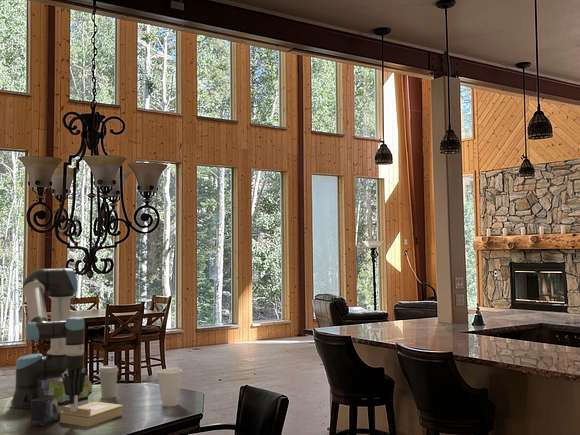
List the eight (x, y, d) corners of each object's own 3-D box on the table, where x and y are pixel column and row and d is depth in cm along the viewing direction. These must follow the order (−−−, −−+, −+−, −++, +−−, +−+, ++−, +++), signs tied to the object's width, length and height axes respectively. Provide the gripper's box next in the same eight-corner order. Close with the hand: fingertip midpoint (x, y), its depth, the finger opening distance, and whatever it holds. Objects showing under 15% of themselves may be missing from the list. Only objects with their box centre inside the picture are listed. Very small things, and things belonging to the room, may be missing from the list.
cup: (168, 400, 299) (168, 367, 300) (187, 403, 293) (187, 369, 294) (151, 406, 289) (151, 371, 290) (171, 409, 283) (171, 374, 284)
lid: (60, 413, 263) (60, 406, 263) (95, 402, 281) (95, 396, 282) (89, 417, 256) (89, 410, 256) (123, 406, 274) (123, 399, 274)
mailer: (60, 422, 263) (60, 414, 263) (94, 411, 281) (94, 403, 281) (88, 426, 256) (88, 418, 256) (121, 415, 273) (121, 407, 274)
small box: (44, 426, 257) (44, 400, 257) (30, 425, 258) (30, 400, 259) (58, 419, 267) (58, 395, 268) (44, 419, 269) (45, 394, 269)
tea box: (61, 414, 276) (62, 380, 277) (47, 411, 281) (48, 378, 282) (89, 407, 289) (89, 375, 290) (74, 404, 294) (75, 373, 295)
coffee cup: (122, 396, 310) (122, 366, 311) (107, 400, 302) (107, 369, 303) (109, 394, 315) (109, 364, 316) (94, 397, 307) (94, 367, 308)
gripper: (69, 357, 253) (68, 415, 252) (92, 352, 265) (91, 408, 263) (56, 356, 257) (55, 413, 255) (79, 351, 268) (79, 406, 267)
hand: (73, 410), depth 259 cm, fingers closed
